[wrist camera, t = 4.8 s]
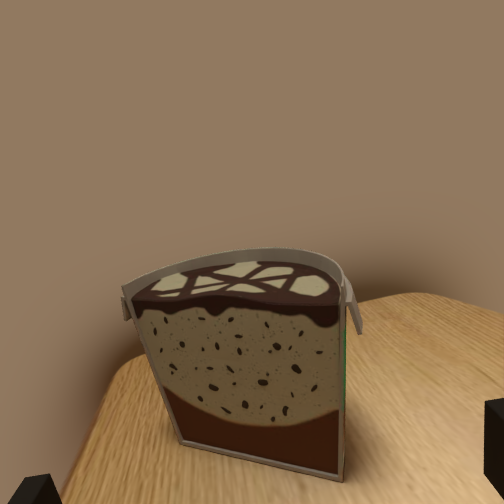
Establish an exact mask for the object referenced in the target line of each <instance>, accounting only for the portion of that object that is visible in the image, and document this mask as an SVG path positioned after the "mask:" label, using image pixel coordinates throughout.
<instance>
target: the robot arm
mask: <svg viewBox="0 0 504 504" xmlns="http://www.w3.org/2000/svg"><path fill="white" fill-rule="evenodd" d="M484 475H485V476H486V477H487V479H488V480H489V481H490V483H491V484H492V485H493V486H494V488H495V489H496V490H497V492H498V493H499V494H500V496H501V497H502V498H503V500H504V398H500V399H494V400H488V401H485V414H484ZM8 504H62V501H61V499H60V497H59V494H58V492H57V490H56V487H55V485H54V482H53V480H52V478H51V475H50V474H44V475H38V476H32V477H26V478H24V480H23V481H22V483H21V484H20V486H19V487H18V489H17V490H16V492H15V493H14V495H13V496H12V498H11V499H10V501H9V502H8Z"/></svg>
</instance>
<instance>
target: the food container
mask: <svg viewBox="0 0 504 504" xmlns="http://www.w3.org/2000/svg"><path fill="white" fill-rule="evenodd" d="M121 287H122V290H123V295H124V296H122V297H121V301H122V309H123V316H124V321H128V320H129V319H130V318H132V319H133V321H134V324H135V327H136V329H137V332H138V334H139V337H140V340H141V342H142V345H143V347H144V350H145V353H146V356H147V358H148V361H149V363H150V366H151V369H152V371H153V374H154V377H155V379H156V382H157V385H158V387H159V390H160V392H161V395H162V398H163V400H164V403H165V406H166V408H167V411H168V414H169V416H170V419H171V422H172V424H173V427H174V429H175V432H176V435H177V437H178V440H179V443H180V444H182V445H186V446H191V447H195V448H199V449H203V450H208V451H212V452H216V453H220V454H224V455H229V456H233V457H237V458H241V459H246V460H250V461H254V462H258V463H263V464H267V465H271V466H275V467H280V468H284V469H288V470H292V471H296V472H301V473H305V474H309V475H313V476H318V477H322V478H326V479H330V480H335V481H339V482H343V476H344V464H345V388H346V306H348V307H349V310H350V313H351V316H352V319H353V322H354V325H355V328H356V331H357V334H358V335H361V334H362V326H363V322H362V318H361V315H360V311H359V308H358V305H357V302H356V299H355V296H354V293H353V290H352V286H351V284H350V282H349V281H348V279H347V278H346V277H345V275H344V274H343V270H342V269H341V267H340V266H339V264H338V263H336V262H335V261H334V260H332V259H331V258H329V257H326V256H325V255H322V254H319V253H316V252H312V251H307V250H302V249H294V248H278V247H270V248H251V249H240V250H232V251H226V252H220V253H214V254H210V255H205V256H200V257H196V258H192V259H189V260H185V261H182V262H178V263H174V264H171V265H169V266H166V267H163V268H160V269H157V270H155V271H152V272H149V273H147V274H145V275H143V276H140V277H138V278H136V279H134V280H132V281H130V282H128V283H126V284H124V285H122V286H121Z"/></svg>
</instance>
